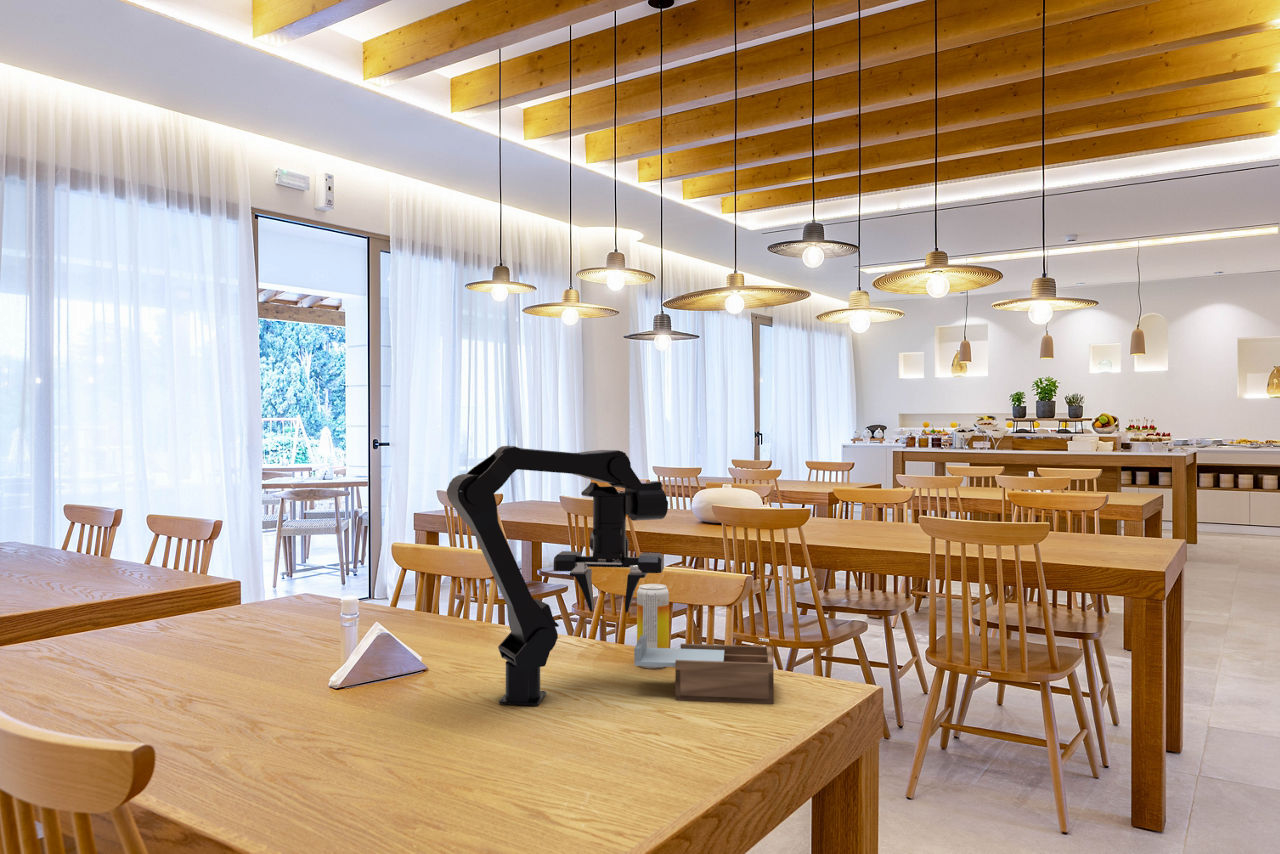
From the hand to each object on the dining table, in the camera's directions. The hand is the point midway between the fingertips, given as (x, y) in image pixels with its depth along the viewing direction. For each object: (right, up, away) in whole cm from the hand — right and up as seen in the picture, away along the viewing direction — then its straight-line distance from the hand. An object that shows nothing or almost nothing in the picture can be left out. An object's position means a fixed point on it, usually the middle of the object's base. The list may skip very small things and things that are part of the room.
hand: (609, 611), depth 147 cm
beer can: (+8, -13, +14) cm, 21 cm away
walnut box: (+20, -13, -3) cm, 24 cm away
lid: (+12, -8, -2) cm, 15 cm away
